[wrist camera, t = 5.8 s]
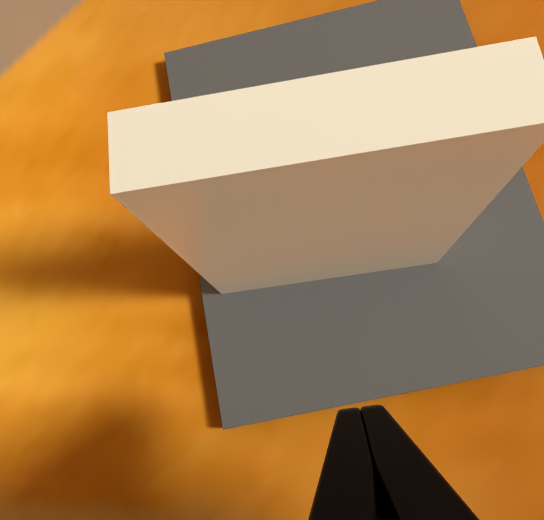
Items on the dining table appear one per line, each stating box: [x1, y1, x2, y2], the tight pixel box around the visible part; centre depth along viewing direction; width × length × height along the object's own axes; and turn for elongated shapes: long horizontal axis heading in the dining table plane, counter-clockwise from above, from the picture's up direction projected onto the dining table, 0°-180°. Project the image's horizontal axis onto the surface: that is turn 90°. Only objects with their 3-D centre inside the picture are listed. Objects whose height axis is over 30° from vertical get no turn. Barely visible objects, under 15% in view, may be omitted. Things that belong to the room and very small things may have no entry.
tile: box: [108, 37, 544, 294], centre depth 12 cm, size 2×8×9 cm, turn 97°
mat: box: [164, 0, 544, 430], centre depth 18 cm, size 15×12×1 cm
